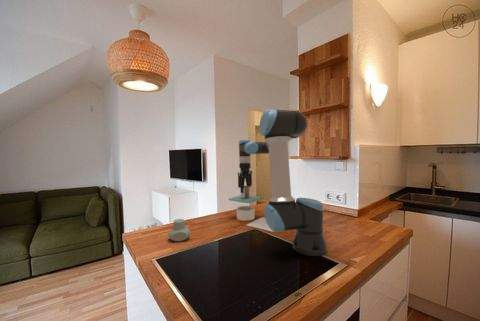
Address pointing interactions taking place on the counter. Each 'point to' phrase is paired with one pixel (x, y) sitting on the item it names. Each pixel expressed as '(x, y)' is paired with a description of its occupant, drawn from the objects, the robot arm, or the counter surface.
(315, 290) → the counter surface
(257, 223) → the mat
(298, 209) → the robot arm
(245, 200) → the lid
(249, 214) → the bowl
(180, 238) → the air freshener
